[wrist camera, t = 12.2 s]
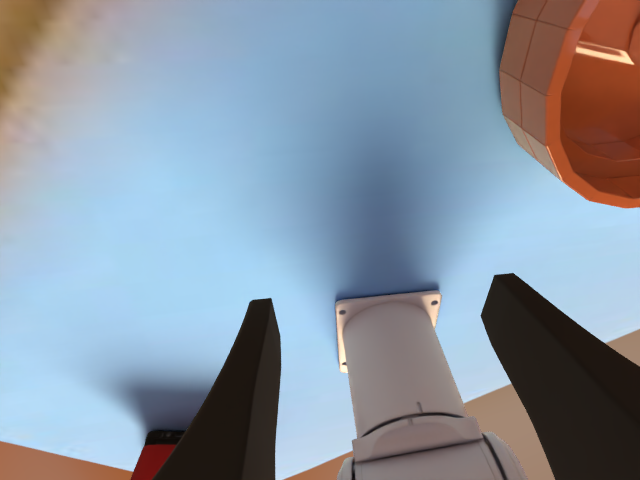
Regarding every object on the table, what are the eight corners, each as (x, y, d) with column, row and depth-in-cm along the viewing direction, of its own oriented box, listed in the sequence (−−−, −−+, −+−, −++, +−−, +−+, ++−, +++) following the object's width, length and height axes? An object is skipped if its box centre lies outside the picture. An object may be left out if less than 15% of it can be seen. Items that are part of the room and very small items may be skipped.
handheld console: (150, 456, 42) (128, 537, 36) (147, 412, 35) (120, 502, 30) (258, 459, 45) (253, 534, 39) (273, 418, 38) (270, 501, 32)
